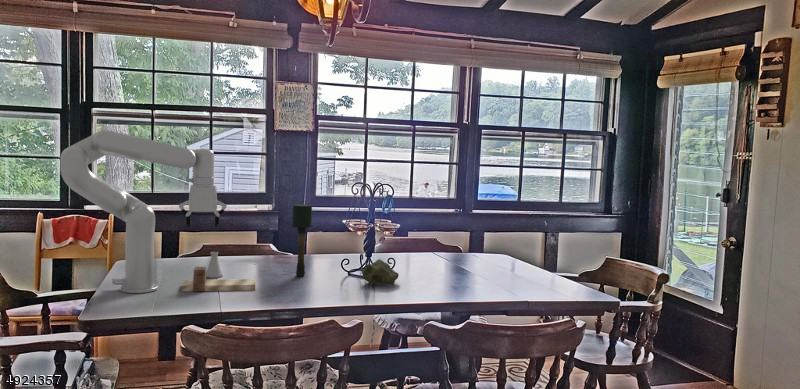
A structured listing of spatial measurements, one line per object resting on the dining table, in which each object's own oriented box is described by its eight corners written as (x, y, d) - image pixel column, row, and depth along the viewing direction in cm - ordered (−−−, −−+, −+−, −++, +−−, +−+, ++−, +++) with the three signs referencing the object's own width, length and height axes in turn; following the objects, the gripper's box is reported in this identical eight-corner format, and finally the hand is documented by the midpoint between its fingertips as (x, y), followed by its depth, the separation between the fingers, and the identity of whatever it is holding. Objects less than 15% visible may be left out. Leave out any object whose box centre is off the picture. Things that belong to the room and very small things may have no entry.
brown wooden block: (193, 291, 219) (193, 270, 219) (196, 282, 233) (196, 263, 232) (204, 291, 220) (204, 270, 220) (206, 282, 234) (207, 263, 233)
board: (181, 291, 220) (181, 285, 220) (184, 285, 230) (184, 279, 229) (255, 290, 227) (255, 284, 226) (254, 284, 236) (254, 278, 236)
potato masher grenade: (314, 275, 257) (316, 205, 254) (303, 278, 249) (305, 206, 247) (297, 272, 260) (299, 203, 258) (286, 276, 252) (288, 205, 250)
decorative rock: (407, 284, 247) (408, 260, 246) (384, 290, 234) (385, 265, 233) (378, 278, 256) (379, 255, 255) (354, 284, 242) (355, 260, 242)
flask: (220, 278, 243) (220, 254, 242) (202, 278, 243) (202, 253, 242) (225, 275, 250) (225, 251, 250) (207, 274, 250) (208, 250, 249)
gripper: (178, 182, 222) (178, 228, 223) (227, 182, 227) (226, 228, 229) (179, 180, 229) (179, 225, 231) (226, 181, 234) (226, 225, 236)
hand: (202, 226), depth 230 cm, fingers open, 9 cm apart
